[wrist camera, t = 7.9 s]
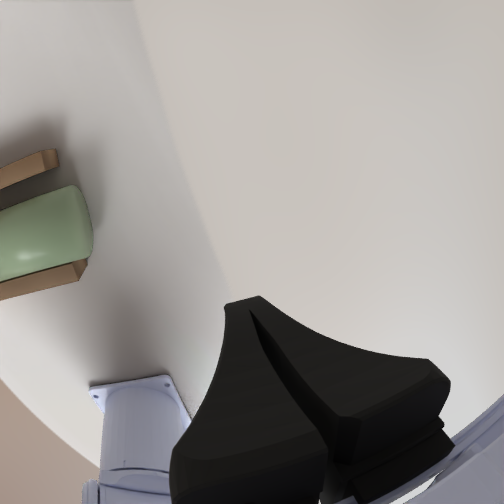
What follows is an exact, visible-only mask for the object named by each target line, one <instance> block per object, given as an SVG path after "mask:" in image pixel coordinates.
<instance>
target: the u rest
mask: <svg viewBox="0 0 504 504" xmlns="http://www.w3.org/2000/svg"><path fill="white" fill-rule="evenodd" d="M58 166H59V162H58V157H57V152H56V149H50V150H44V151H39V152H37V153H34V154H32V155H30V156H27V157H25V158H23V159H20V160H18V161H16V162H13V163H11V164H9V165H7V166H5V167H3V168H0V190H1V189H3V188H5V187H8V186H10V185H12V184H15V183H17V182H19V181H22V180H24V179H27V178H29V177H32V176H34V175H37V174H39V173H42V172H45V171H47V170H50V169H53V168H56V167H58ZM86 266H87V262H86V259H85V258H84V259H80V260H76V261H73V262H69V263H65V264H61V265H58V266H54V267H50V268H46V269H43V270H39V271H36V272H32V273H28V274H25V275H21V276H18V277H14V278H11V279H7V280H4V281H0V301H1V300H4V299H8V298H12V297H16V296H20V295H24V294H28V293H32V292H36V291H40V290H44V289H48V288H52V287H56V286H60V285H64V284H68V283H72V282H76V281H79V279H80V277H81V275H82V274H83V272H84V270H85V268H86Z"/></svg>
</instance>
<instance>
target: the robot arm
mask: <svg viewBox="0 0 504 504" xmlns="http://www.w3.org/2000/svg"><path fill="white" fill-rule="evenodd" d="M224 310H225V330H224V338H223V344H222V348H221V353H220V357H219V361H218V364H217V368H216V371H215V374H214V377H213V379H212V382H211V384H210V387H209V389H208V391H207V394H206V396H205V398H204V400H203V402H202V404H201V406H200V407H199V409H198V411H197V413H196V415H195V416H194V418H193V420H191V418H190V416H189V414H188V412H187V410H186V408H185V406H184V404H183V402H182V400H181V398H180V396H179V394H178V392H177V390H176V388H175V386H174V383H173V381H172V379H171V377H170V376H168V375H160V376H155V377H150V378H144V379H139V380H133V381H127V382H121V383H114V384H107V385H100V386H93V387H90V388H89V394H90V395H91V397H92V398H93V400H94V401H95V402H96V404H97V405H98V407H99V408H100V409H101V411H102V412H103V413H104V422H103V432H102V444H101V459H100V474H99V480H98V484H97V480H94V479H89V481H88V482H85V483H84V484H83V489H82V504H318V503H319V499H320V502H321V504H389V503H391V502H393V501H395V500H397V499H398V498H400V497H402V496H404V495H405V494H407V493H409V492H410V491H412V490H414V489H415V488H417V487H418V486H420V485H422V484H423V483H424V482H426V481H428V480H429V479H431V478H432V477H434V476H435V475H437V474H438V473H439V472H440V473H439V474H438V475H437V476H436V477H435V479H434V481H433V482H432V483H431V485H430V486H429V487H428V488H427V489H426V490H425V491H424V492H422V493H420V494H419V495H417V496H415V497H414V498H412V499H410V500H408V501H407V502H405V503H403V504H504V394H503V395H502V396H501V397H500V398H499V399H498V400H497V401H496V402H495V403H494V404H492V405H491V406H490V407H489V408H488V409H487V410H486V411H485V412H483V413H482V414H481V415H480V416H479V417H478V418H476V419H475V420H474V421H473V422H472V423H470V424H469V425H468V426H467V427H465V428H464V429H463V430H461V431H460V432H459V433H458V434H456V435H455V436H454V437H452V438H451V439H450V438H449V437H448V436H447V435H446V433H445V432H444V431H443V430H442V428H443V427H444V422H443V421H442V420H441V419H440V418H439V414H440V412H441V410H442V408H443V406H444V404H445V402H446V400H447V398H448V395H449V392H450V386H451V382H450V380H449V379H448V377H447V376H446V375H445V374H444V373H443V372H442V371H441V370H440V369H438V367H437V366H436V365H434V364H433V363H432V362H431V361H430V360H429V359H422V358H410V357H399V356H392V355H387V354H381V353H376V352H372V351H367V350H364V349H360V348H356V347H354V346H350V345H347V344H344V343H341V342H338V341H336V340H333V339H331V338H329V337H326V336H324V335H322V334H319V333H317V332H315V331H313V330H311V329H309V328H307V327H306V326H304V325H302V324H300V323H299V322H297V321H296V320H294V319H293V318H291V317H289V316H288V315H286V314H285V313H283V312H282V311H280V310H279V309H278V308H276V307H275V306H273V305H272V304H271V303H269V302H268V301H267V300H265V299H264V298H262V297H261V296H255V297H252V298H248V299H244V300H240V301H236V302H232V303H228V304H226V305H225V306H224ZM166 383H168V384H166ZM442 470H443V471H442ZM441 471H442V472H441Z"/></svg>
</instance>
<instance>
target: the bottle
mask: <svg viewBox="0 0 504 504" xmlns="http://www.w3.org/2000/svg"><path fill="white" fill-rule="evenodd" d="M92 247H93V233H92V225H91V220H90V217H89V213H88V209H87V205H86V202H85V200H84V197H83V195H82V194H81V192H80V190H79V189H78V188H77V187H76V186H74V185H70V186H67V187H64V188H61V189H58V190H55V191H52V192H49V193H46V194H43V195H40V196H38V197H35V198H32V199H29V200H27V201H24V202H21V203H19V204H16V205H14V206H11V207H9V208H6V209H4V210H1V211H0V281H4V280H7V279H11V278H14V277H18V276H21V275H25V274H28V273H32V272H36V271H39V270H43V269H46V268H50V267H54V266H58V265H61V264H65V263H69V262H73V261H76V260H80V259H84V258H88V257H89V256H90V254H91V252H92Z"/></svg>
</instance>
